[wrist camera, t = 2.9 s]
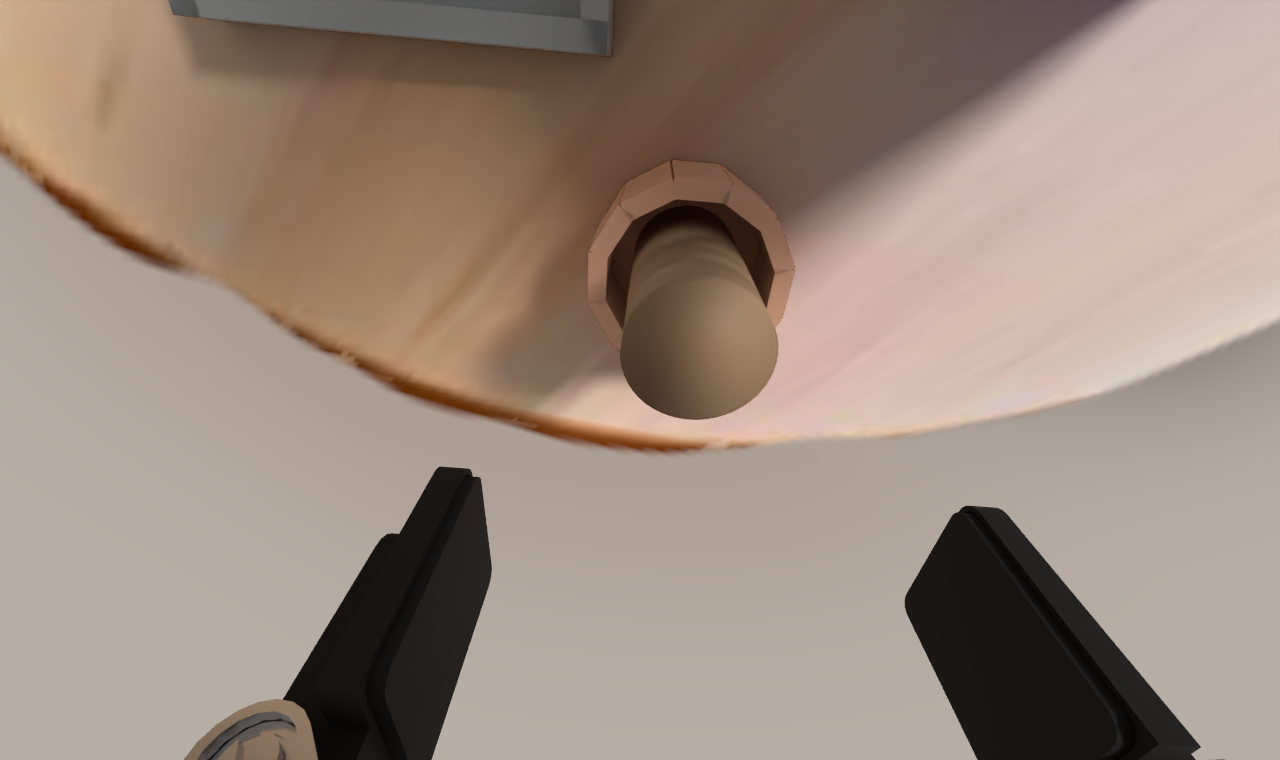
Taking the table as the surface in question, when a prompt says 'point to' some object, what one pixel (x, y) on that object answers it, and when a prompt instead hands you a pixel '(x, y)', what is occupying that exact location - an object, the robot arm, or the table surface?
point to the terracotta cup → (689, 187)
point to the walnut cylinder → (694, 319)
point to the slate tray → (433, 20)
